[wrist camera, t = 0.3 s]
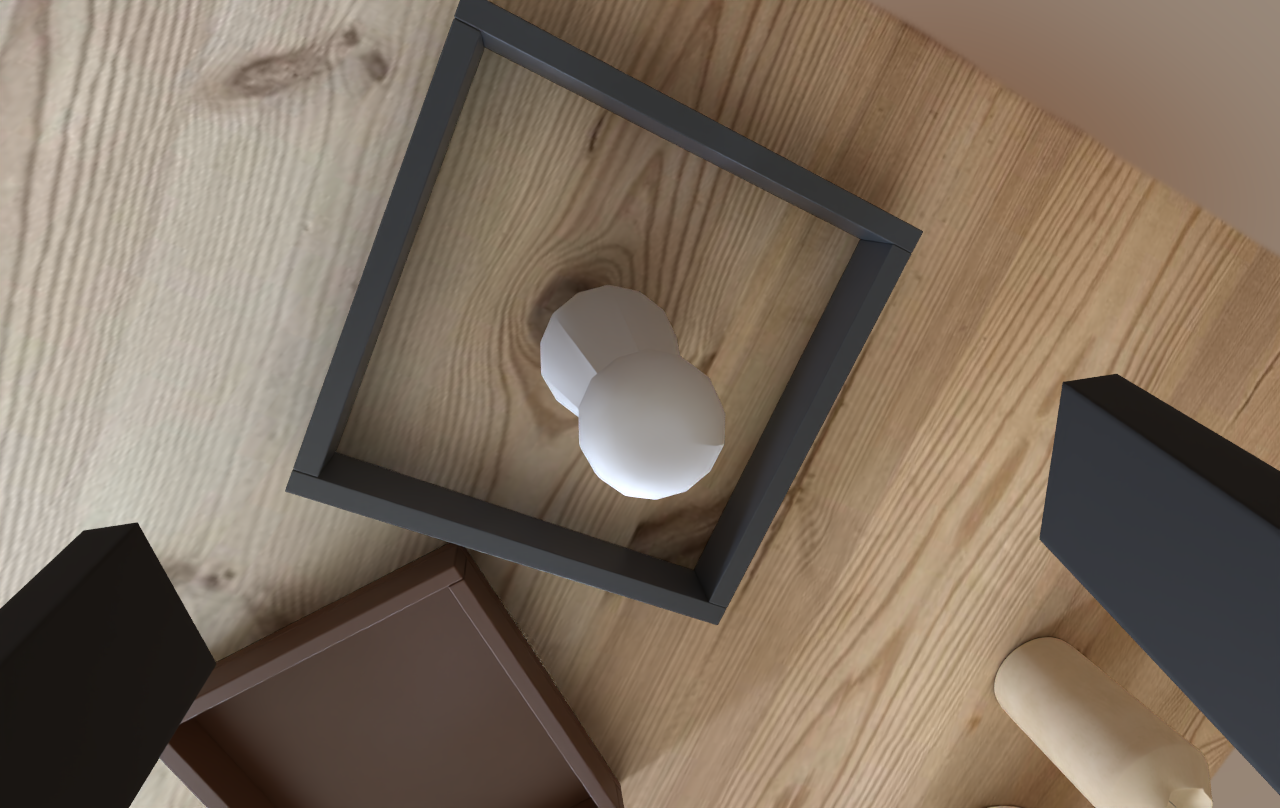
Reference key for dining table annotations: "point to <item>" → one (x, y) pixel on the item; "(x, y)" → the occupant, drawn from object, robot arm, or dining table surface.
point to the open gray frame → (787, 429)
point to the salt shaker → (632, 393)
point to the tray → (391, 708)
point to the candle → (1099, 731)
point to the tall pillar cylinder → (1003, 807)
